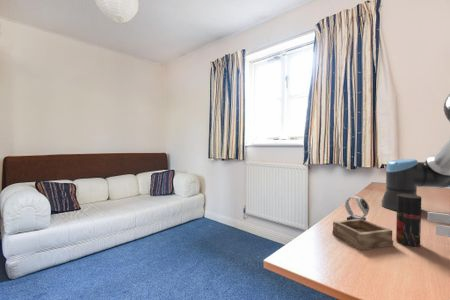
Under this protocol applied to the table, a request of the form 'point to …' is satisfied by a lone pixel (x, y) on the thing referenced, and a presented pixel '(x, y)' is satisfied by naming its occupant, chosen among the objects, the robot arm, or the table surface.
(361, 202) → the watch
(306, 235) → the table surface
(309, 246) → the table surface
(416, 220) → the deodorant
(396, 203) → the robot arm
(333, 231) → the crate
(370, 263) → the table surface
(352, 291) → the table surface
